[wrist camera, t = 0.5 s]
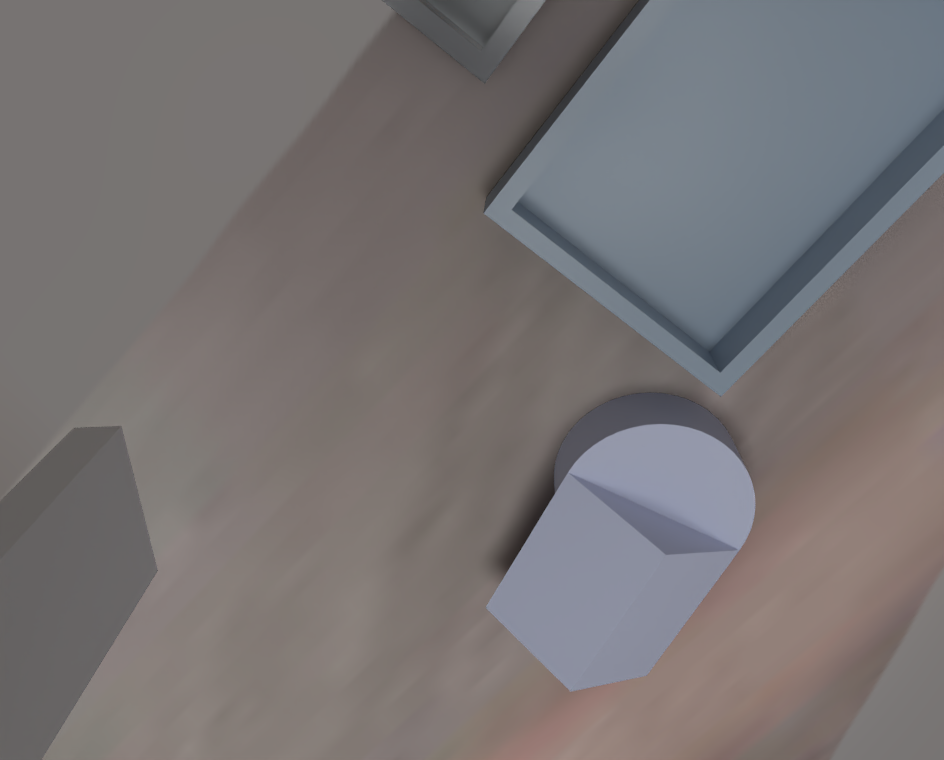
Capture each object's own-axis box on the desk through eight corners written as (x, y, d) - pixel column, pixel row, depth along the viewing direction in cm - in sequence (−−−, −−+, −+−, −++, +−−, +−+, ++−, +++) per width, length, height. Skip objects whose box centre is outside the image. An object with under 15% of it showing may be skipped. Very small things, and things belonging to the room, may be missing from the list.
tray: (486, 197, 38) (483, 213, 35) (790, -195, 31) (816, -214, 29) (707, 369, 40) (720, 396, 38) (1028, 39, 34) (1072, 43, 31)
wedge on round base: (638, 631, 47) (774, 440, 42) (655, 726, 41) (818, 516, 36) (488, 566, 45) (610, 362, 40) (482, 655, 39) (625, 427, 34)
